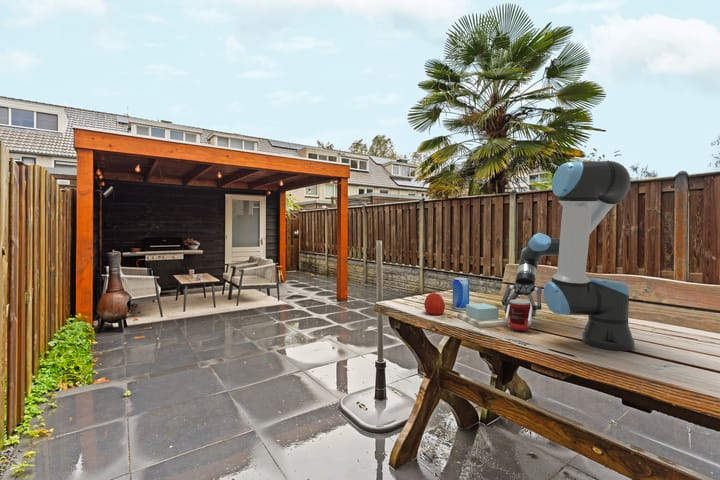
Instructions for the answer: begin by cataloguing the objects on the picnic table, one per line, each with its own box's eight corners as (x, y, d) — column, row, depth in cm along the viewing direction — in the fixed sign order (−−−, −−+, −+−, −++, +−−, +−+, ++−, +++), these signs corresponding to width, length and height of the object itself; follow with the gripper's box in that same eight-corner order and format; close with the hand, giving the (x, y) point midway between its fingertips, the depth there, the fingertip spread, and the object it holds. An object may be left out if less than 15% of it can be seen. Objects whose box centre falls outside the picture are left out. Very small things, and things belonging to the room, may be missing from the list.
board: (508, 325, 145) (508, 321, 145) (479, 328, 142) (479, 323, 142) (483, 315, 162) (483, 311, 162) (457, 317, 159) (457, 313, 159)
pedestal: (498, 319, 148) (498, 307, 148) (478, 320, 146) (478, 309, 146) (485, 313, 158) (485, 303, 158) (465, 315, 156) (465, 304, 156)
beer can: (449, 307, 180) (449, 277, 180) (462, 306, 183) (463, 277, 182) (458, 311, 172) (458, 280, 172) (472, 309, 175) (472, 279, 174)
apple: (421, 311, 172) (421, 291, 172) (441, 311, 173) (441, 290, 172) (426, 316, 162) (426, 294, 162) (447, 316, 162) (447, 294, 162)
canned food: (525, 325, 142) (525, 299, 142) (533, 330, 134) (533, 303, 134) (506, 325, 142) (506, 299, 142) (513, 330, 135) (513, 303, 134)
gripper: (553, 284, 144) (547, 330, 131) (502, 280, 156) (493, 322, 144) (551, 272, 140) (545, 319, 127) (499, 269, 152) (489, 312, 139)
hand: (518, 320), depth 135 cm, fingers closed on canned food, 8 cm apart
